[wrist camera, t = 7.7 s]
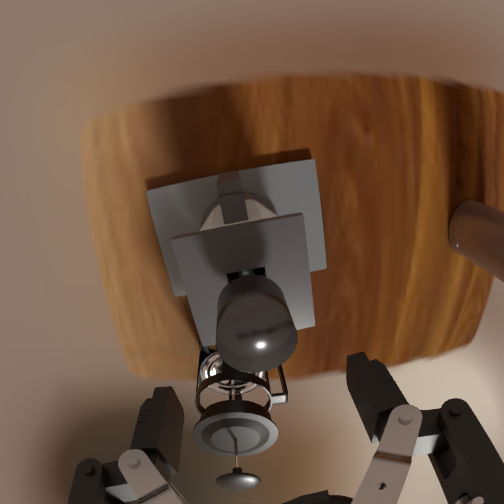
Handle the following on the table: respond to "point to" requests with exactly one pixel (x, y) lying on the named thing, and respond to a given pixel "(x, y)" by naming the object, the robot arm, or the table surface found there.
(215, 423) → the french press
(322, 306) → the table surface
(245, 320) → the plunger
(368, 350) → the table surface
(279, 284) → the carafe
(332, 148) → the table surface
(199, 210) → the slate board
